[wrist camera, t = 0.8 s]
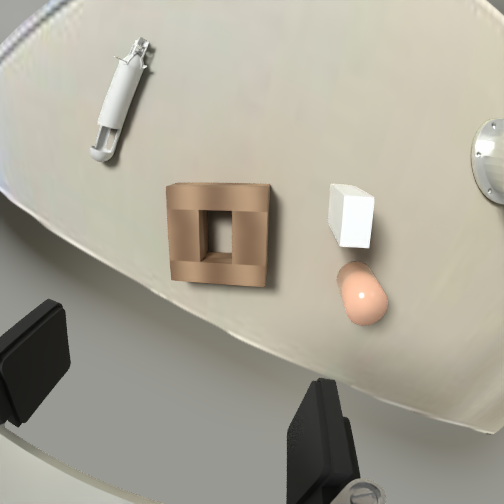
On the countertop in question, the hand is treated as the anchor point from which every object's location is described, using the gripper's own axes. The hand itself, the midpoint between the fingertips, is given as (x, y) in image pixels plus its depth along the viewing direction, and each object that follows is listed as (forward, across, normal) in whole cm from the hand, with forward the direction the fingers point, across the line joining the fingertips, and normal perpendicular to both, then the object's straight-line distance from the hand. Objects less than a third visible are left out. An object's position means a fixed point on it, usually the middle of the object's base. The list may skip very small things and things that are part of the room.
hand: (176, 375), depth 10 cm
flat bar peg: (+31, -11, -4) cm, 33 cm away
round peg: (+31, -16, +5) cm, 35 cm away
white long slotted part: (+32, +20, -11) cm, 40 cm away
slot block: (+31, +3, +3) cm, 32 cm away
